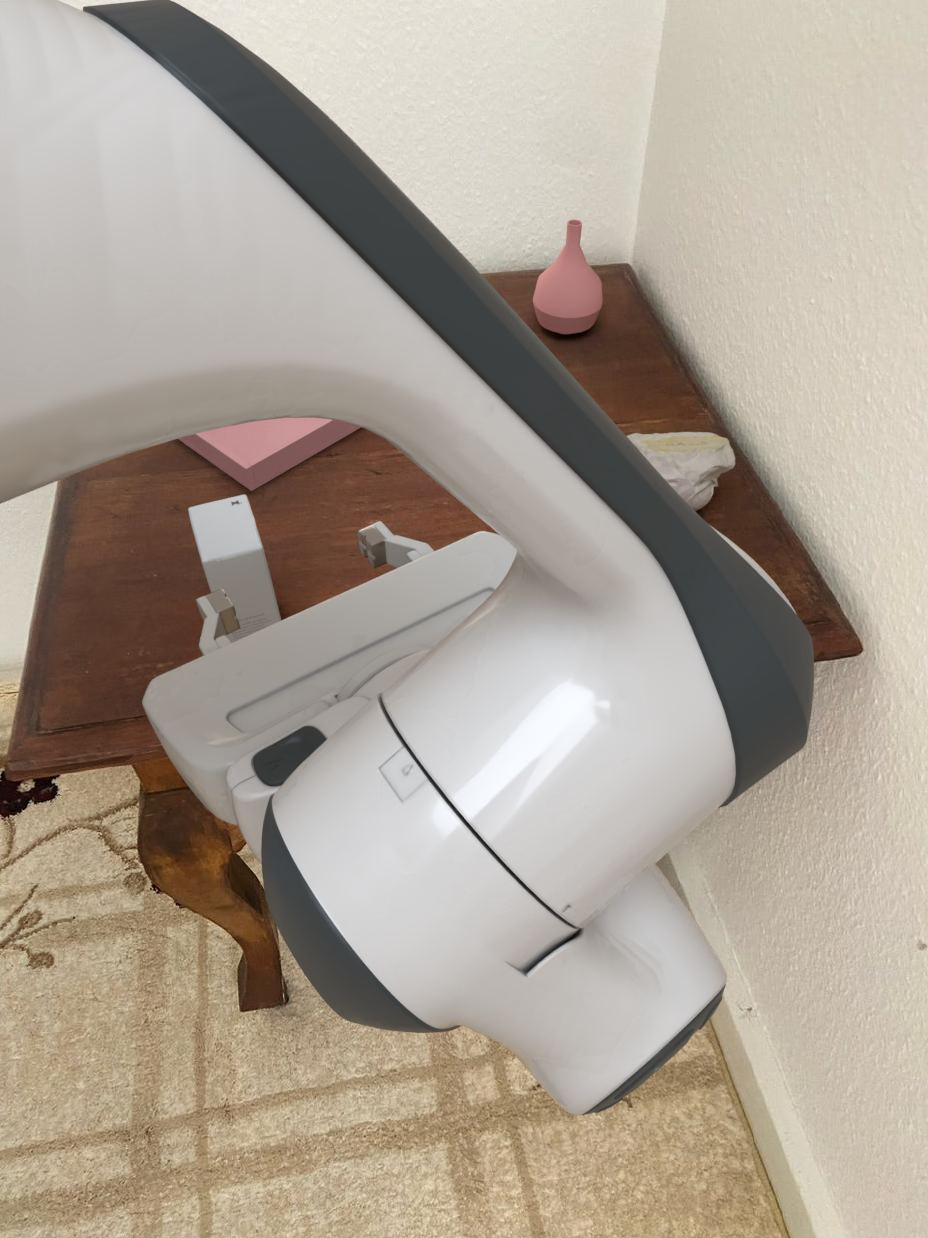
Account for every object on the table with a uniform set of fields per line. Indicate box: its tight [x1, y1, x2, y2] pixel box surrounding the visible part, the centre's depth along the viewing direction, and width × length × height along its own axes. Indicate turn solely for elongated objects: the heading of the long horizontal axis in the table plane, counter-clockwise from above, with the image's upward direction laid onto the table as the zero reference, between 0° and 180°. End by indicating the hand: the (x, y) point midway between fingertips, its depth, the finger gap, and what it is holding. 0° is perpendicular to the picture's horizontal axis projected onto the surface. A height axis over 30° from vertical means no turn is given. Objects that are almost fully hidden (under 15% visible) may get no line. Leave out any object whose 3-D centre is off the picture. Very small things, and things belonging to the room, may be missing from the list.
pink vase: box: [532, 219, 604, 335], centre depth 94 cm, size 8×8×12 cm
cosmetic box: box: [187, 494, 282, 643], centre depth 63 cm, size 6×4×12 cm
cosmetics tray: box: [177, 418, 362, 492], centre depth 85 cm, size 14×12×3 cm
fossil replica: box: [626, 431, 736, 512], centre depth 75 cm, size 12×8×10 cm
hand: (292, 566), depth 47 cm, fingers open, 8 cm apart
